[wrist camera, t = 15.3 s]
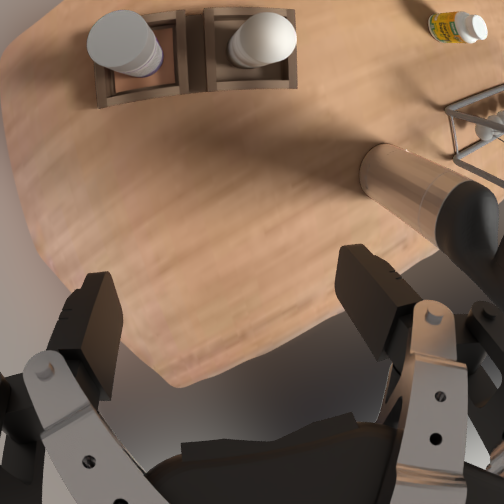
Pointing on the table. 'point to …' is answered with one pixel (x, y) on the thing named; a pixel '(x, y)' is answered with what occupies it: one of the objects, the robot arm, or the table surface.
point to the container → (125, 44)
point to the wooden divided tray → (211, 55)
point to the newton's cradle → (478, 131)
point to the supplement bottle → (457, 27)
